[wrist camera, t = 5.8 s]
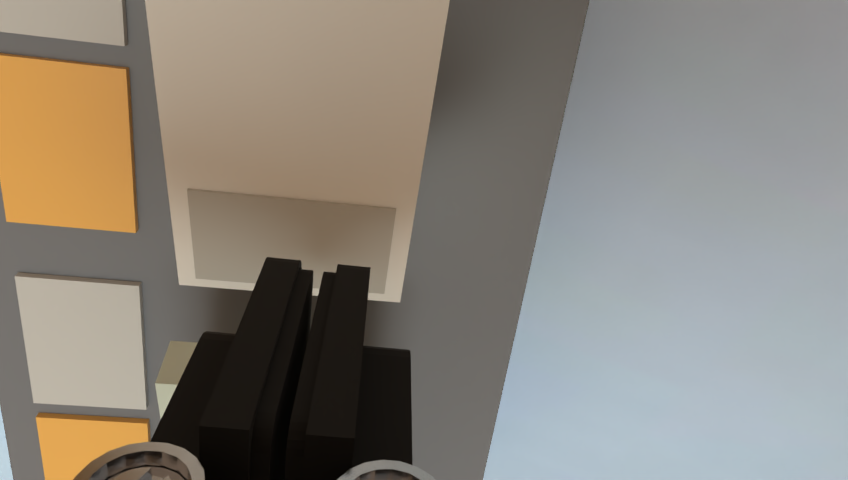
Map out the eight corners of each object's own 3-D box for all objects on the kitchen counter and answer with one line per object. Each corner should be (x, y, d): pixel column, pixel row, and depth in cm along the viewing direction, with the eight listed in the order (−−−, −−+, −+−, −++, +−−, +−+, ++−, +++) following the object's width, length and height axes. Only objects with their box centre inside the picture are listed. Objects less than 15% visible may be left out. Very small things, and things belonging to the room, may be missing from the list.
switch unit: (569, -122, 17) (641, -137, 13) (454, 461, 26) (472, 584, 21) (-4, -211, 16) (-168, -264, 11) (75, 440, 24) (1, 567, 20)
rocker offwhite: (464, -142, 11) (471, -125, 10) (400, 268, 17) (400, 304, 16) (148, -191, 10) (121, -179, 9) (191, 250, 16) (178, 286, 15)
